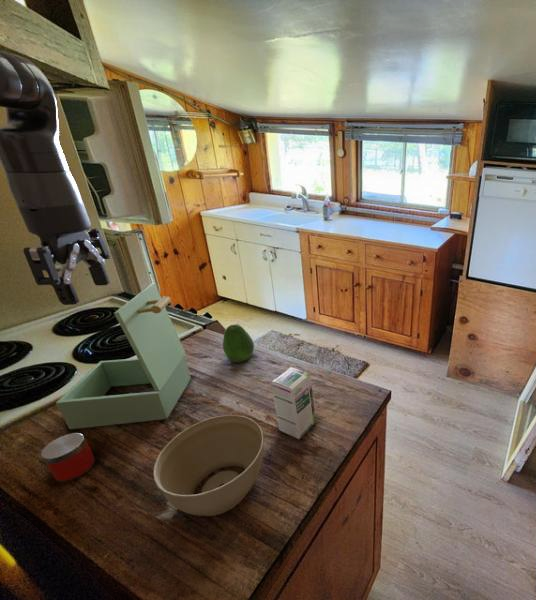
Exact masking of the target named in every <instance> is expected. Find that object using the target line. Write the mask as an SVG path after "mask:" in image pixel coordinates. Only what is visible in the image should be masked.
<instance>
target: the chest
mask: <svg viewBox="0 0 536 600" xmlns="http://www.w3.org/2000/svg"><path fill="white" fill-rule="evenodd" d="M191 379H192V377H191V374H190V370H189V366H188V363H187V360H186V354H185V355H184V356H183V358H182V359H181V361H180V362H179V364H178V365H177V367H176V368H175V369H174V371H173V372H172V374H171V375H170V377H169V378H168V380H167V381H166V383H165V384H164V386H163V387H162V388H161V390H160V391H158V392H155V391H145V392H134V393H133V392H132V393H123V394H113V395H111V394H110V395H106V394H107V393H108V391H110V389H111V388H112V387H122V386H124V387H125V386H134V385H147V384H151V382H150V380H149V378H148V377H147V375H146V373H145V371H144V369H143V367H142V365H141V363H140V361H139V360H138V358H137V357H136V358H126V359H112V360H111V359H110V360H100V361H98V363H96V364H95V365H94V366H92V368H91V369H90V370H89V371H88V372H87V373H86V374H85V375H84V376H83V377H81V378H80V379H79V380H78V381H77V382H76V383H75V384H74V385H73V386H72V387H71V388H69V390H68V391H67V392H65V394H64V395H62V396H61V397H60V398H59V399H58V400H57V401H56V402H55V405H56V406H57V409H58V410H59V412H60V414H61V416H62V418H63V420H64V421H65V424H66V425H67V427H68V430H75V429H84V428H85V429H86V428H95V427H104V426H114V425H123V424H132V423H142V422H151V421H152V422H153V421H160V420H168V418H169V416H170V415H171V414H172V411H173V409H174V408H175V407H176V405H177V403H178V401H179V399H180V397H181V396H182V394H183V392H184V391H185V389H186V387H188V384H189V383H190V380H191Z"/></svg>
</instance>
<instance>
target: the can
mask: <svg viewBox="0 0 536 600" xmlns="http://www.w3.org/2000/svg"><path fill="white" fill-rule="evenodd" d="M93 453H94V452H93V451H92V450H91V447H90V446H89V443H88V441H87V440H86V438H85V436H84V434H82V433H79V432H72V433H68V434H64V435H62V436H60V437H58V438H55V439H53V440H52V441H50V442H49V443H48V444H47V445H46V446H44V447H43V449H42V450H41V453H40V457H41V458H42V460H43V462H44V464H45V465H46V467H47V469H48V471H49V472H50V473H51V475H52V477H53V478H54V479H55V481H56V482H59V483H60V482H61V483H63V482H69V481H73V480H75V479H77V478H80V477H81V476H83V475H84V474H86V473H87V472H89V470H91V468H92V467H93V466H94V465H95V463H96V458H95V455H94V454H93Z"/></svg>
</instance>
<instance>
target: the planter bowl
mask: <svg viewBox="0 0 536 600" xmlns="http://www.w3.org/2000/svg"><path fill="white" fill-rule="evenodd" d="M264 444H265V438H264V433H263V430H262V427H261V426H260V425H259V423H258V422H256V421H255V420H253V419H252V418H249V417H247V416H244V415H238V414H223V415H217V416H213V417H210V418H206V419H204V420H201V421H199V422H197V423H194V424H192V425H190V426H189V427H186V428H185V429H183V430H181V432H179V433H177V435H176V436H174V437H173V438H172V439H171V440H170V441H169V442H168V443H167V444H166V445H165V446H164V447H163V448H162V450H160V452H159V454H158V456H157V457H156V460H155V462H154V466H153V474H152V475H153V481H154V483H155V485H156V487H157V488H158V490H160V492H161V493H162V495H163V496H164V497H165V499H166V500H167V502H168V503H169V504H171V505H172V506H173V507H174V508H176V509H177V510H179V511H181V512H183V513H186V514H188V515H194V516H200V517H201V516H203V517H212V516H218V515H221V514H224V513H227V512H228V511H230V510H231V509H233V508H235V507H236V506H237V505H238V504H239V503H241V502H242V501H243V499H244V498H245V497H246V496H247V494H248V493H249V492H250V490H251V489H252V487H253V486H254V484H255V483H256V481H257V478H258V477H259V474H260V472H261V469H262V465H263V461H264ZM227 467H239V468H243V469H244V470H243V471H242V472H238V471H237V470H233V469H230V470H229V469H228V470H223V471H220V472H217V473H215V474H213V475H212V476H210V477H209V478H208V479H207V480H206V481H205V482H204V484H203V485H202V487H201V489H200V492H199V493H196V494H195V492H196V489H197V488H198V486H199V485H200V484H201V482H202V481H203V480H204V479H205V478H206V477H207V476H209V475H210V474H212V473H213V472H216V471H217V470H220V469H222V468H223V469H224V468H227Z"/></svg>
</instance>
